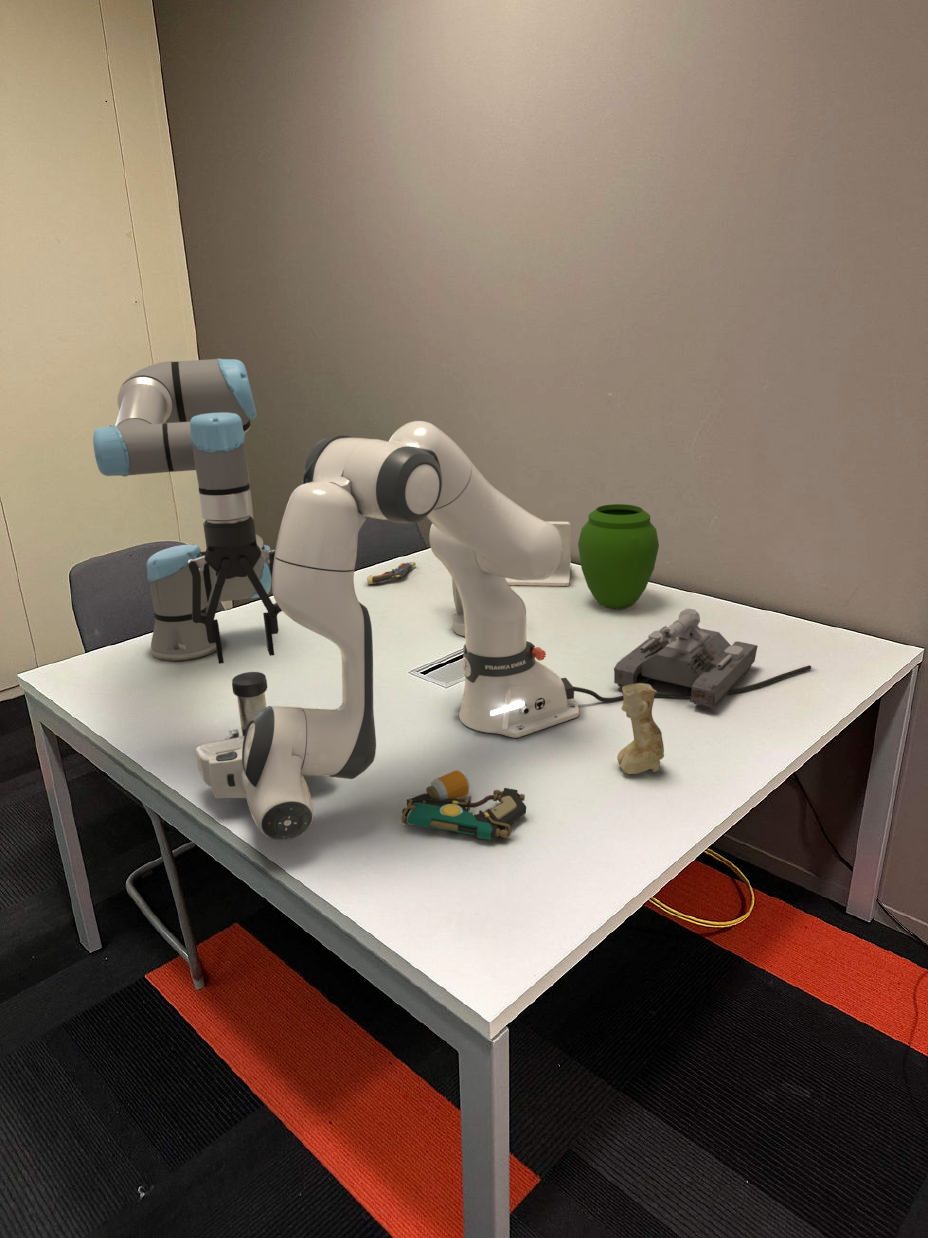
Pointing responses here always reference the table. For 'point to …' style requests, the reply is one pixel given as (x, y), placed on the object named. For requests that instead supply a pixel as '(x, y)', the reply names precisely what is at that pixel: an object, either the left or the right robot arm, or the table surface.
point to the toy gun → (391, 573)
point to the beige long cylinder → (250, 709)
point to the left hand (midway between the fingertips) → (246, 656)
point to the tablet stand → (563, 570)
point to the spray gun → (463, 808)
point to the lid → (249, 684)
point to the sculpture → (641, 731)
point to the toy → (688, 660)
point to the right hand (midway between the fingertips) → (255, 729)
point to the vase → (618, 554)
